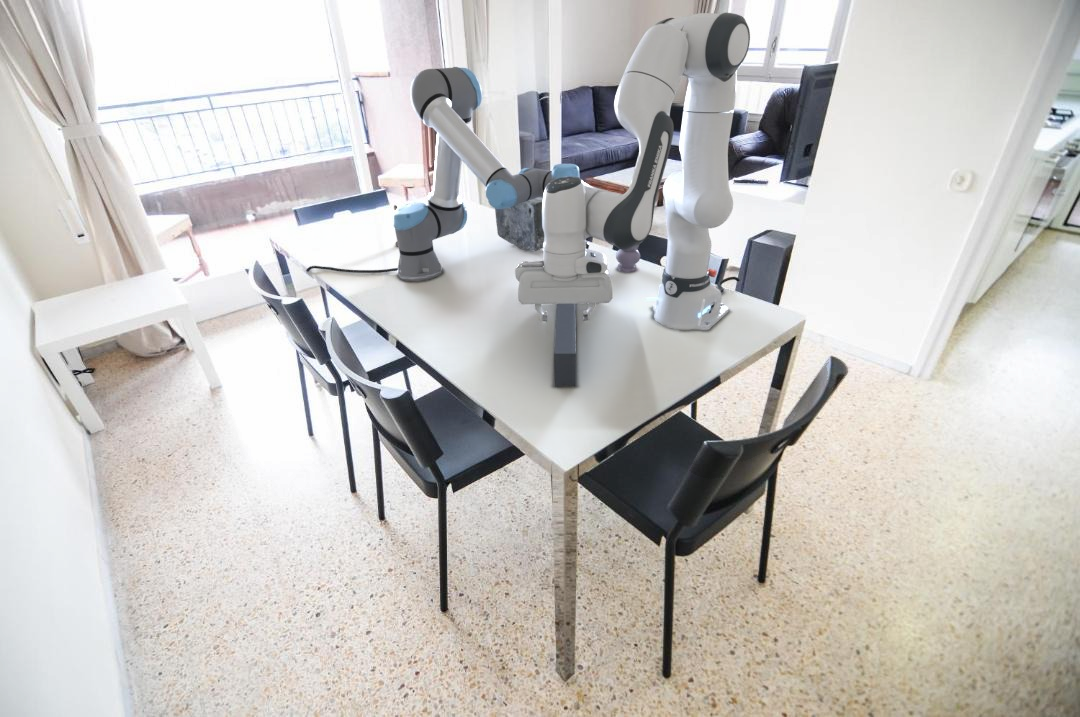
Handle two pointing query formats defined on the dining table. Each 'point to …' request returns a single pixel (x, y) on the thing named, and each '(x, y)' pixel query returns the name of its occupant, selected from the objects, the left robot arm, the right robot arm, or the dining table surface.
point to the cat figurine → (627, 259)
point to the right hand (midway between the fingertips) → (565, 320)
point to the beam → (565, 346)
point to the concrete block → (522, 224)
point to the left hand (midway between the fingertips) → (566, 296)
